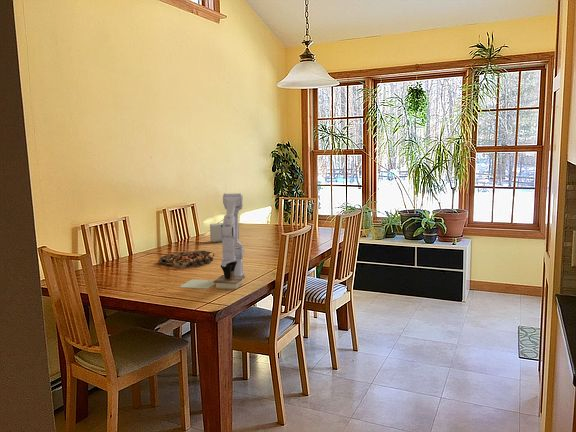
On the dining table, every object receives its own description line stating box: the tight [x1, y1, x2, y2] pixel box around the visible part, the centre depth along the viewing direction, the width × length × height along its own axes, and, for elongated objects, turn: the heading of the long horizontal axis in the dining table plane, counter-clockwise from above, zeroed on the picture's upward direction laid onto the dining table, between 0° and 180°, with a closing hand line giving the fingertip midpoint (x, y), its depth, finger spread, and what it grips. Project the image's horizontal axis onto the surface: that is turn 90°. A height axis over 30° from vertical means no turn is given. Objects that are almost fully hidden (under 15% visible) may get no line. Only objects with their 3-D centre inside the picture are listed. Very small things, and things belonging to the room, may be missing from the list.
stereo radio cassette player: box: [209, 218, 240, 243], centre depth 359 cm, size 21×8×20 cm, turn 113°
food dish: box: [158, 249, 215, 269], centre depth 293 cm, size 35×33×8 cm
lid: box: [213, 271, 246, 284], centre depth 238 cm, size 12×12×4 cm
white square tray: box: [215, 279, 243, 290], centre depth 239 cm, size 10×10×3 cm
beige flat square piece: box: [178, 278, 216, 290], centre depth 243 cm, size 14×15×1 cm
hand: (229, 277), depth 238 cm, fingers closed on lid, 4 cm apart
